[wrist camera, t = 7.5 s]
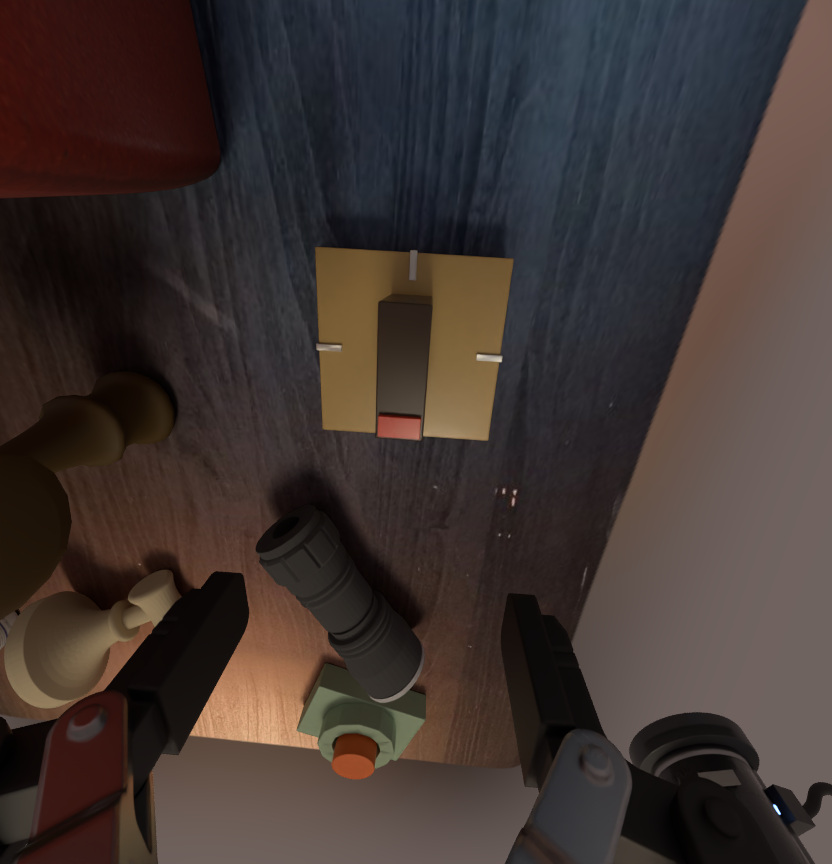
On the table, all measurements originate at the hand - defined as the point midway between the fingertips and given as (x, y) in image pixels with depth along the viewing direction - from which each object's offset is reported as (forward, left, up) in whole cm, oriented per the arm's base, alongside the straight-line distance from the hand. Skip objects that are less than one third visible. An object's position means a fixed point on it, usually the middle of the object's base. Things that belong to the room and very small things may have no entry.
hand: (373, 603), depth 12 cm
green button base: (-7, +28, -15) cm, 33 cm away
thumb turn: (+2, -5, -13) cm, 14 cm away
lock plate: (+2, -5, -15) cm, 16 cm away
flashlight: (-1, +14, -15) cm, 21 cm away
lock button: (-7, +28, -12) cm, 31 cm away
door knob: (+15, +24, -15) cm, 32 cm away
